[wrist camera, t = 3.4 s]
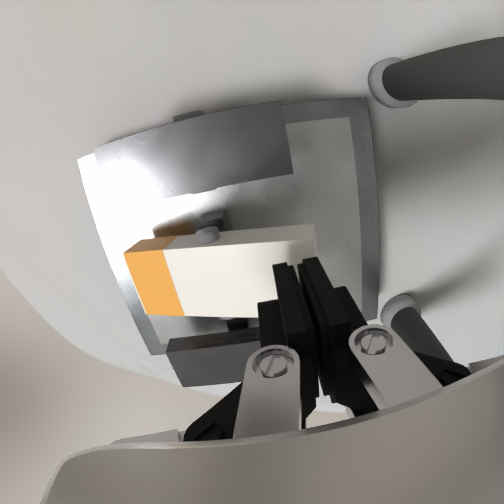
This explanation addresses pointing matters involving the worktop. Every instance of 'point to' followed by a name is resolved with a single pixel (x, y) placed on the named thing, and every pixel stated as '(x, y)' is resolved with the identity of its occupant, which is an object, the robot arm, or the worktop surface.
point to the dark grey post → (441, 75)
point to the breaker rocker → (215, 269)
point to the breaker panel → (240, 208)
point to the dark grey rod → (412, 326)
